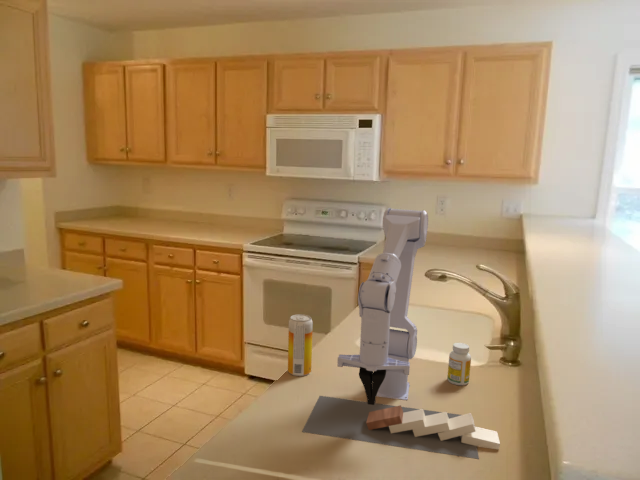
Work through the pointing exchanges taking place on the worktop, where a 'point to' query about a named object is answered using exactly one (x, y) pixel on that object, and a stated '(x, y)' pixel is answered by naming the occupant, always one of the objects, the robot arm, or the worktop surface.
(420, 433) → the ivory domino
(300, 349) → the beer can
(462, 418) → the ivory domino
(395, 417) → the terracotta domino
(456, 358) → the supplement bottle
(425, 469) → the worktop surface
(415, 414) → the ivory domino
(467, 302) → the worktop surface
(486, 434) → the ivory domino
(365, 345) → the robot arm
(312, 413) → the charcoal mat
